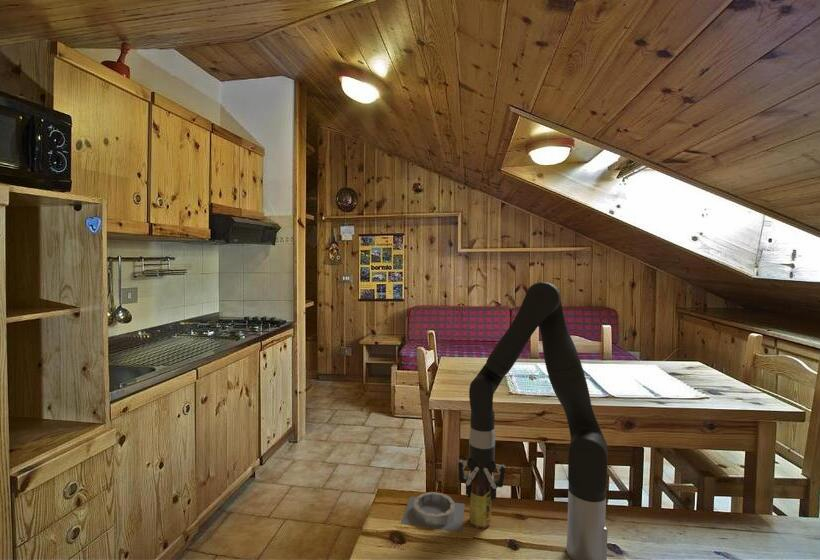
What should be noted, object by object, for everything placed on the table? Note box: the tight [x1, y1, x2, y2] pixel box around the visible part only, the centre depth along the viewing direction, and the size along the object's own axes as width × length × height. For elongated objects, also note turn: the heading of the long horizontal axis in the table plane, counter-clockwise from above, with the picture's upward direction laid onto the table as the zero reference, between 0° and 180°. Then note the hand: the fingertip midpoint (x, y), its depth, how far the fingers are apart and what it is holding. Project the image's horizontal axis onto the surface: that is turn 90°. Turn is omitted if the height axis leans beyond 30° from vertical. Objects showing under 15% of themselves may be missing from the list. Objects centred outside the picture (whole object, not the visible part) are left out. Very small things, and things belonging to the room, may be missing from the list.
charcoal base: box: [400, 496, 466, 534], centre depth 120 cm, size 18×14×1 cm
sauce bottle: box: [469, 462, 492, 530], centre depth 116 cm, size 7×6×20 cm
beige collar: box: [413, 491, 456, 527], centre depth 120 cm, size 12×12×3 cm
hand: (480, 497), depth 117 cm, fingers closed on sauce bottle, 6 cm apart
